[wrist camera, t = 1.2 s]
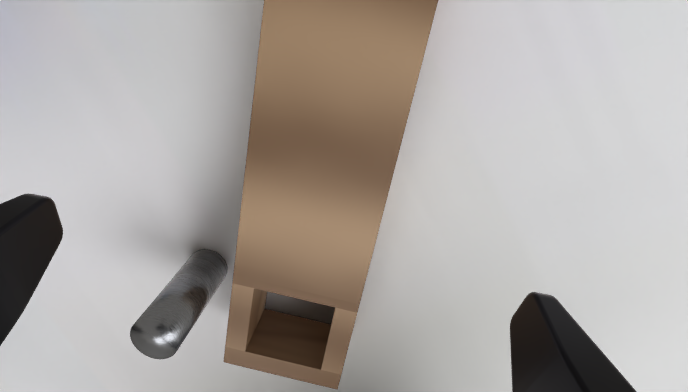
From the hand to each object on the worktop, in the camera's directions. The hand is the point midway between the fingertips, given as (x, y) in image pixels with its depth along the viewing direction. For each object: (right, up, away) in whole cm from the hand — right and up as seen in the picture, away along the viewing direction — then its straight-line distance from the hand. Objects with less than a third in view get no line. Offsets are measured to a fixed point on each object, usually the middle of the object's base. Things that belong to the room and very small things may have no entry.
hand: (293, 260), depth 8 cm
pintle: (-6, -2, +14) cm, 16 cm away
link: (0, +2, +12) cm, 12 cm away
